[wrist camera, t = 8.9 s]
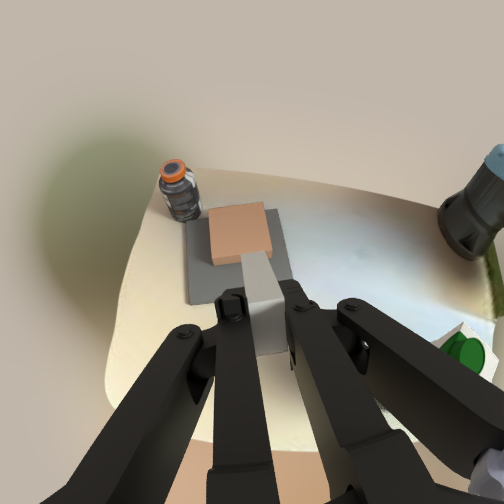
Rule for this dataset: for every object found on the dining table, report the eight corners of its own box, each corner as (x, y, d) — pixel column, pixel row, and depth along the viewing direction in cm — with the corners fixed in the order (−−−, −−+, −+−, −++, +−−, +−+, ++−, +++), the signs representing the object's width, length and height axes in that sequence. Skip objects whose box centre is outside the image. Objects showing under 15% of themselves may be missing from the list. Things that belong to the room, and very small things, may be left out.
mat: (276, 211, 48) (277, 208, 48) (294, 291, 41) (295, 289, 41) (187, 223, 48) (186, 221, 47) (190, 305, 41) (189, 304, 40)
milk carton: (391, 344, 37) (474, 307, 19) (426, 375, 34) (516, 354, 16) (359, 389, 34) (438, 385, 16) (397, 420, 31) (485, 429, 13)
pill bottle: (207, 200, 50) (197, 156, 40) (195, 226, 47) (181, 184, 37) (179, 195, 51) (164, 152, 41) (166, 220, 48) (146, 179, 38)
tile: (271, 259, 43) (262, 212, 47) (272, 250, 40) (262, 202, 45) (214, 266, 43) (210, 219, 47) (211, 258, 40) (208, 209, 44)
